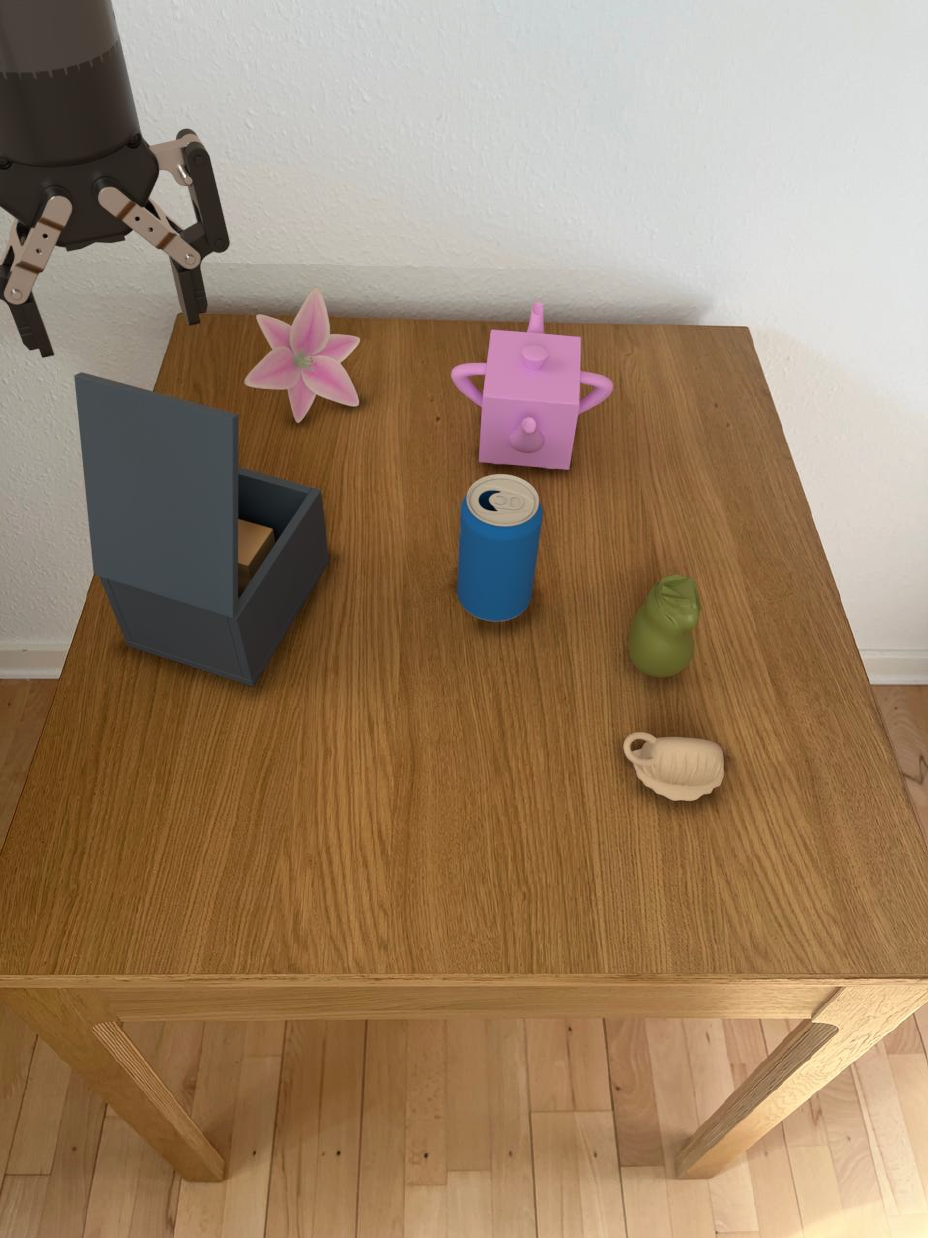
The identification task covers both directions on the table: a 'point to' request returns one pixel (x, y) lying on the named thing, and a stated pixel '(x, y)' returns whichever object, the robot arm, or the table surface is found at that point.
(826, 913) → the table surface
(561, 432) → the teapot
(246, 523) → the block
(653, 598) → the olive green lumpy piece
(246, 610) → the chest
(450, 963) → the table surface
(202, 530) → the lid
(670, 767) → the decorative ornament
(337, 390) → the lily
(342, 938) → the table surface
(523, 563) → the beverage can
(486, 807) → the table surface
